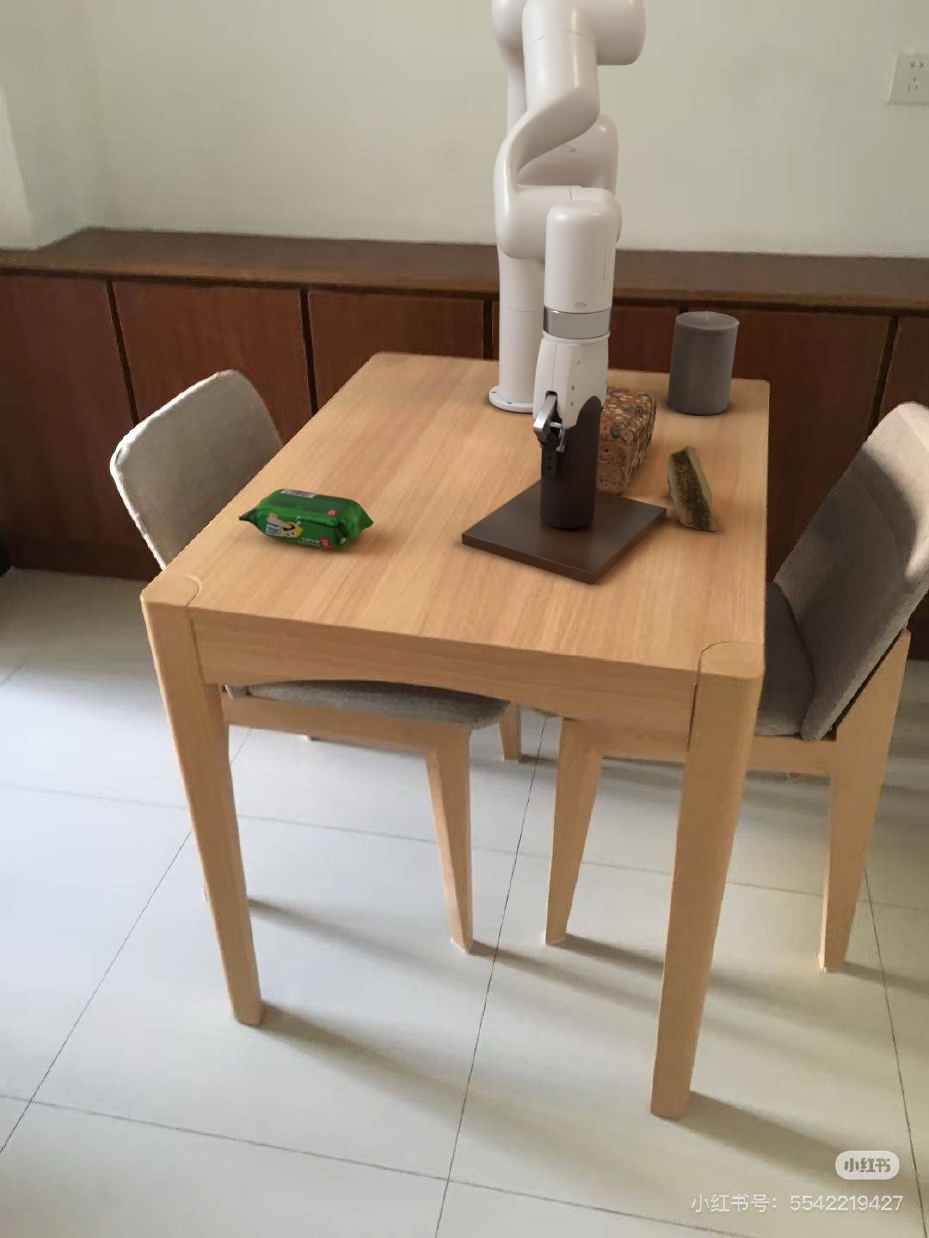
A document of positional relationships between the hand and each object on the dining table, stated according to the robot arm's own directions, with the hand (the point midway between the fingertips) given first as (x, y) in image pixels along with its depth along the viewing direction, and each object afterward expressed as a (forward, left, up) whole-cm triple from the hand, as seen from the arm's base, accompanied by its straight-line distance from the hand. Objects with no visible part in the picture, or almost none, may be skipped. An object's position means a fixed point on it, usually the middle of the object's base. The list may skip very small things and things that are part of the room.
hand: (569, 467), depth 124 cm
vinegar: (0, 0, -7) cm, 7 cm away
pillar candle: (-50, -4, -9) cm, 51 cm away
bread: (-20, -5, -9) cm, 22 cm away
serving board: (0, 0, -9) cm, 9 cm away
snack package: (+19, -26, -9) cm, 33 cm away
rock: (-14, +11, -9) cm, 19 cm away
